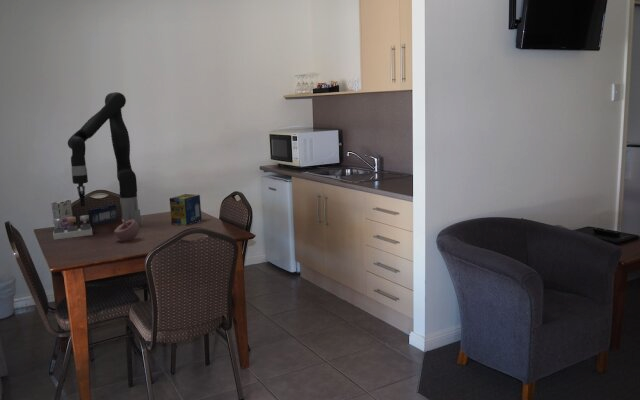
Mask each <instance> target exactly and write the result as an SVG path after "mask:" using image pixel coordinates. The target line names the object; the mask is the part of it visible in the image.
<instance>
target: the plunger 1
mask: <svg viewBox="0 0 640 400" xmlns="http://www.w3.org/2000/svg"><path fill="white" fill-rule="evenodd" d="M52 222H53V225H54V224H57V227H60V224H61V223H63V221H62V218H56V219H52Z"/></svg>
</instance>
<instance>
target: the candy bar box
mask: <svg viewBox="0 0 640 400" xmlns="http://www.w3.org/2000/svg"><path fill="white" fill-rule="evenodd" d="M51 210H52V211H51V212H52V217H53V219H56V218H62V221H63V223H61V224H60V227H64V230H67V227H69V226H71V225H70V223H67V217H74V215H73V207H72V199H62V200H58V201H55V202H51ZM53 219H52V220H53ZM53 225H54V228H60V227H57V224H54V223H53ZM73 226H75V222H73Z"/></svg>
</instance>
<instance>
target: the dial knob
mask: <svg viewBox="0 0 640 400" xmlns="http://www.w3.org/2000/svg"><path fill="white" fill-rule="evenodd" d="M76 221H77V218H76V216H73V217H67V223H70V225H71V226H73V222H74V223H76Z"/></svg>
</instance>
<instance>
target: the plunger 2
mask: <svg viewBox="0 0 640 400" xmlns="http://www.w3.org/2000/svg"><path fill="white" fill-rule="evenodd" d="M79 220H80V222H83V225H86V224H87V221H89V214H83V215H80V216H79Z"/></svg>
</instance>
